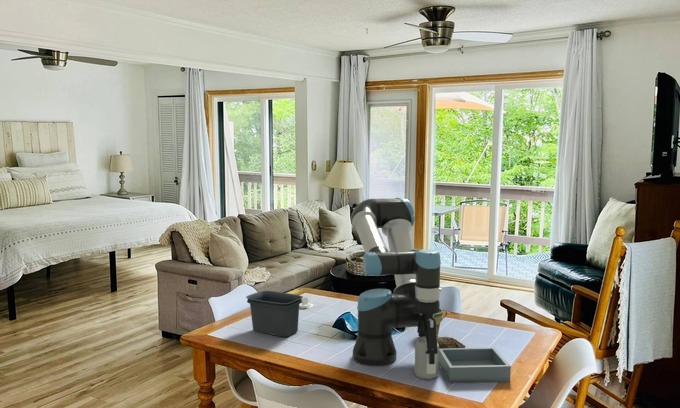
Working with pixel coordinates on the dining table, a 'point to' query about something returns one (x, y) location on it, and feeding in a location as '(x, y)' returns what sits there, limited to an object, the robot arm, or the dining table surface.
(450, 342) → the bread roll
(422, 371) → the can
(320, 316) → the dining table surface
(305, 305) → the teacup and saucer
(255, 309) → the storage bin
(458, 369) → the tote
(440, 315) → the ceramic cup
